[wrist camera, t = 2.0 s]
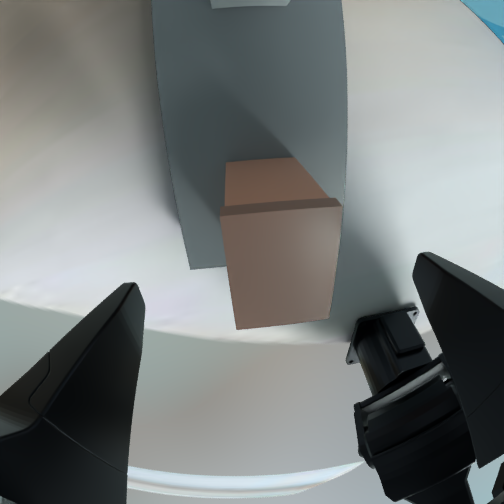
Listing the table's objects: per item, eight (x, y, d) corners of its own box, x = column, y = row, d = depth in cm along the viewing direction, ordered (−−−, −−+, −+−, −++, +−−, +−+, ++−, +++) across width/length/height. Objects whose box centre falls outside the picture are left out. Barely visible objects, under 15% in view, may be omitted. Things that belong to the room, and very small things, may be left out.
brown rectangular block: (287, 215, 16) (329, 318, 9) (231, 220, 16) (236, 329, 9) (286, 144, 14) (342, 206, 7) (224, 148, 14) (219, 216, 7)
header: (323, 228, 18) (338, 254, 15) (195, 240, 17) (190, 269, 15) (312, -52, 8) (328, -73, 5) (163, -45, 8) (151, -67, 5)
